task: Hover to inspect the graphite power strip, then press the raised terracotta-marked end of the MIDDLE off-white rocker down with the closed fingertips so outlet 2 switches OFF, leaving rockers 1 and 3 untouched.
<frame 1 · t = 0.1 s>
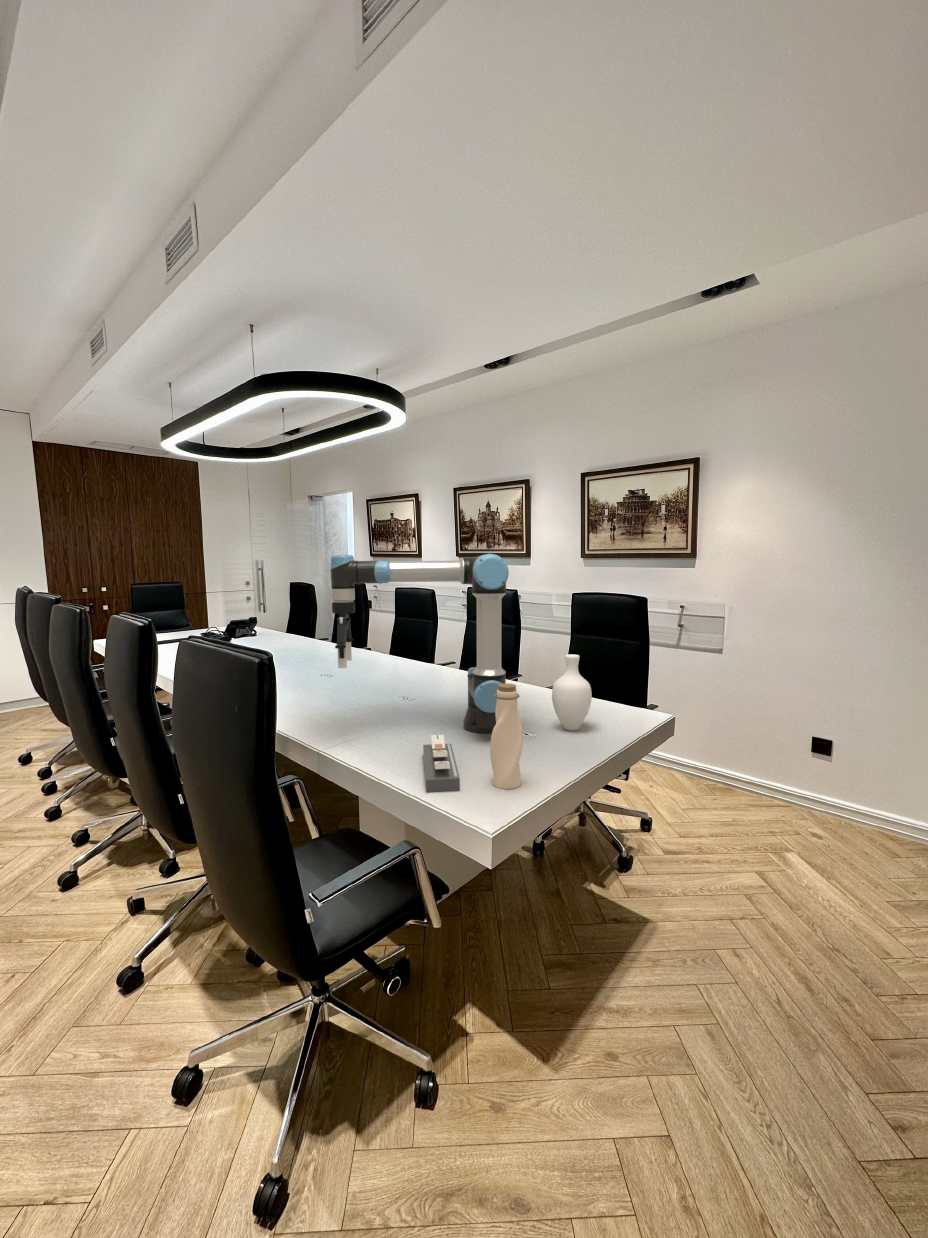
hand: (345, 664, 176), 28 cm above the table, fingers open, 13 cm apart
vase: (571, 730, 194), on the table
power strip: (440, 771, 155), on the table
rocker 2: (439, 753, 155), point 6 cm above the table, hinge at 16.0°
water bottle: (505, 783, 147), on the table
rocker 3: (441, 764, 146), point 6 cm above the table, hinge at 16.0°
rocker 1: (438, 743, 164), point 6 cm above the table, hinge at -16.0°
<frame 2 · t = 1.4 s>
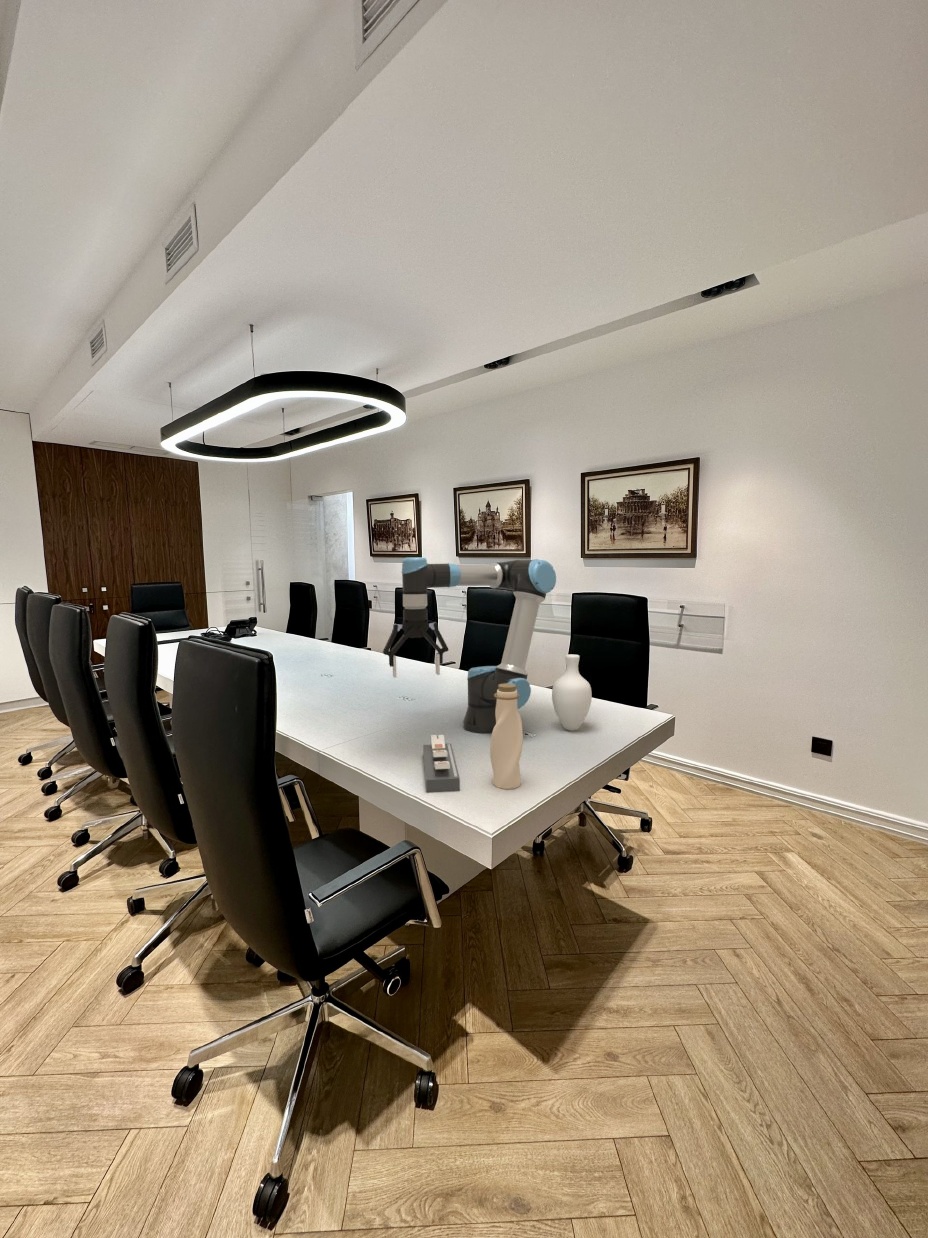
hand: (416, 675, 163), 27 cm above the table, fingers open, 13 cm apart
nothing on the table moved.
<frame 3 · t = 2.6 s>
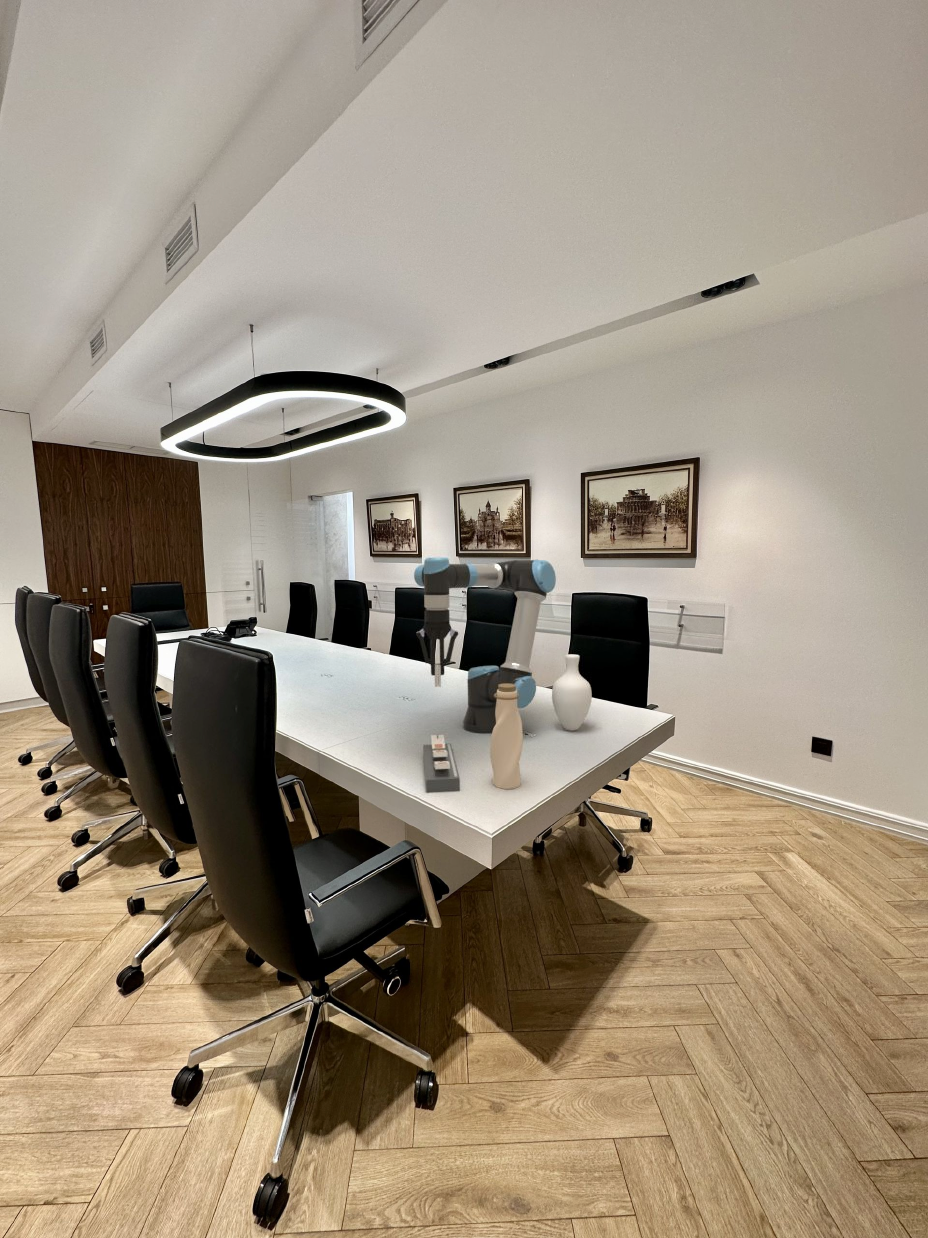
hand: (437, 685, 160), 24 cm above the table, fingers closed
nothing on the table moved.
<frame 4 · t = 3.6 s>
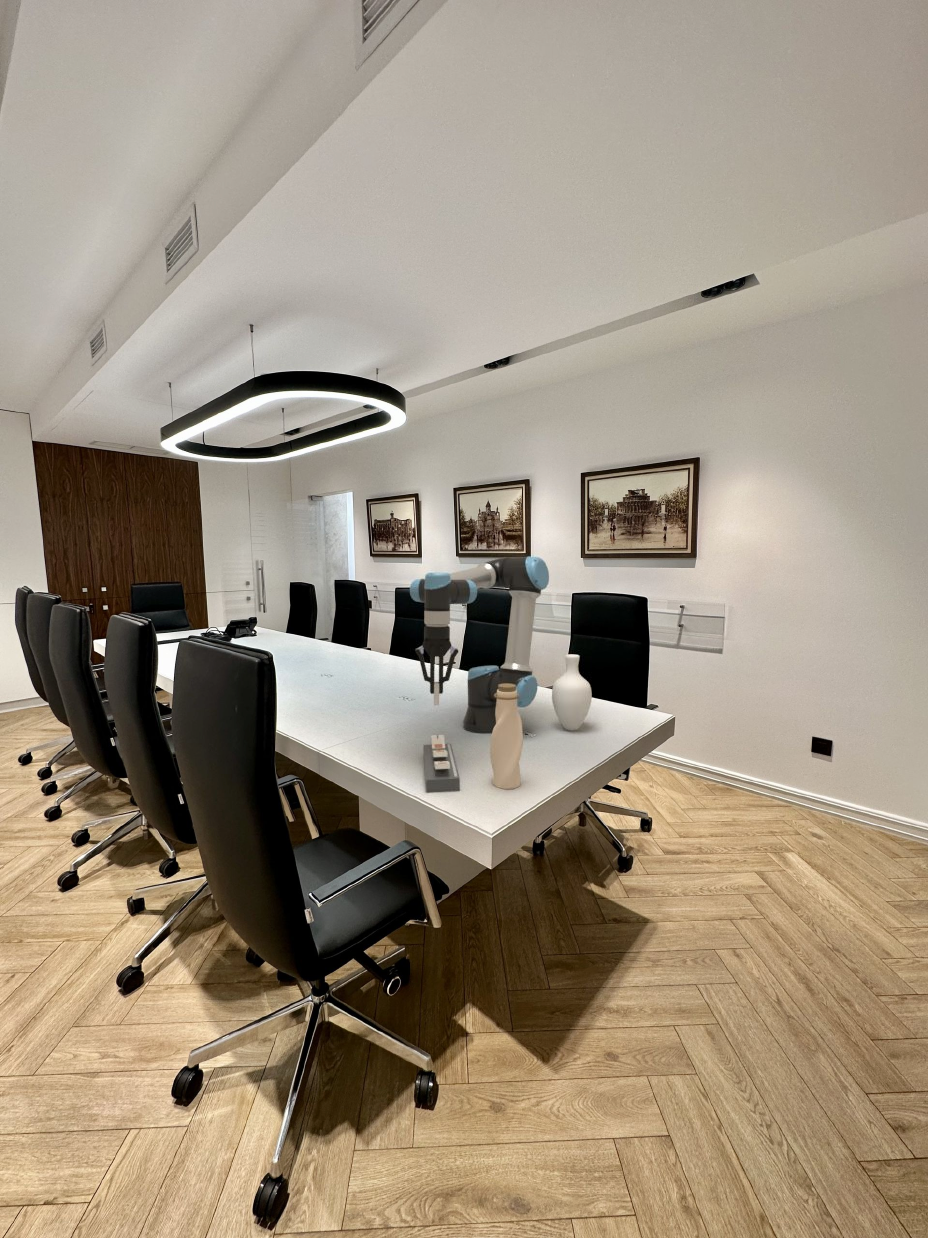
hand: (436, 704, 155), 20 cm above the table, fingers closed
nothing on the table moved.
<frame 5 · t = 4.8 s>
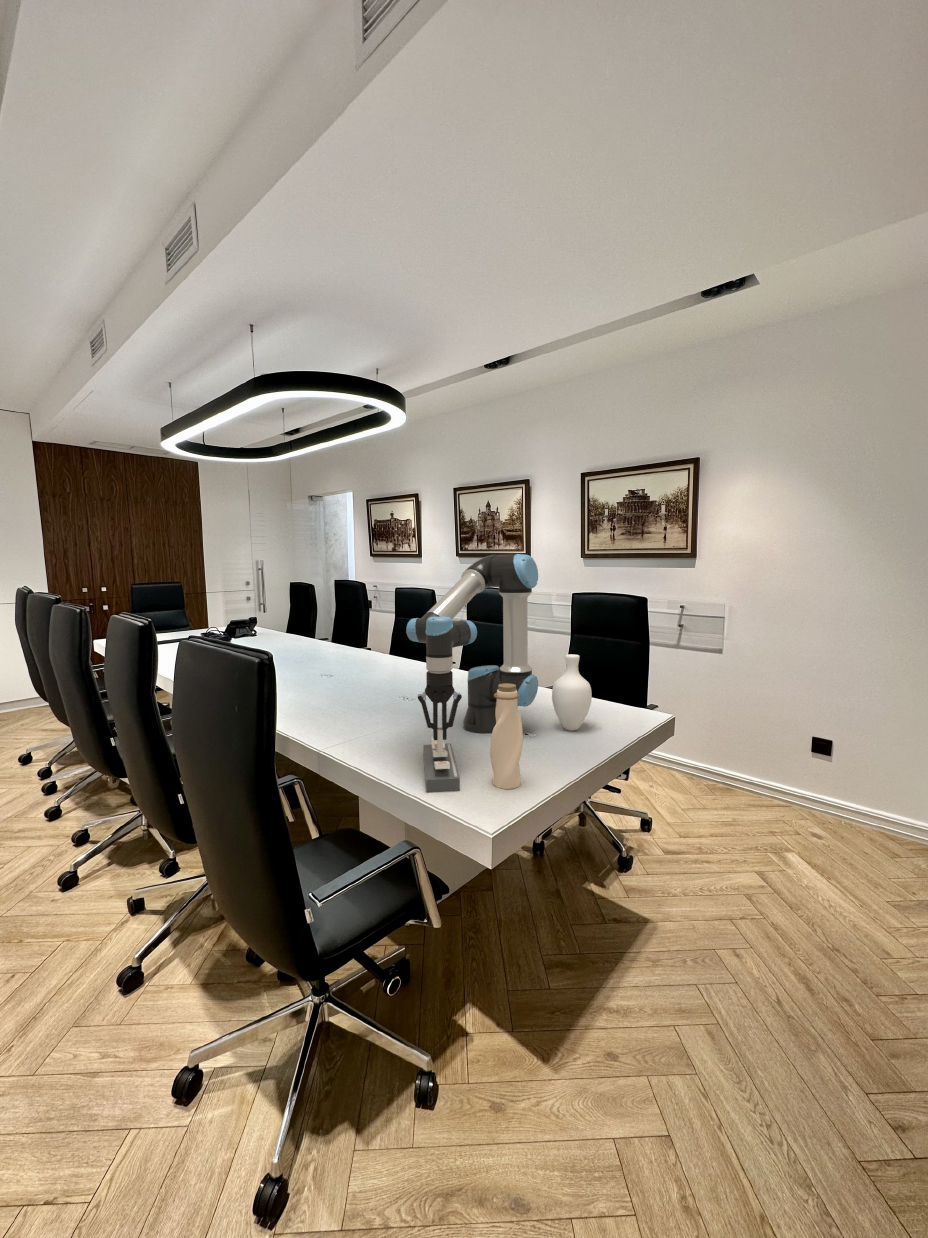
hand: (440, 750, 152), 7 cm above the table, fingers closed
rocker 2: (439, 753, 155), point 6 cm above the table, hinge at 16.0°, touching gripper
everything else where it was.
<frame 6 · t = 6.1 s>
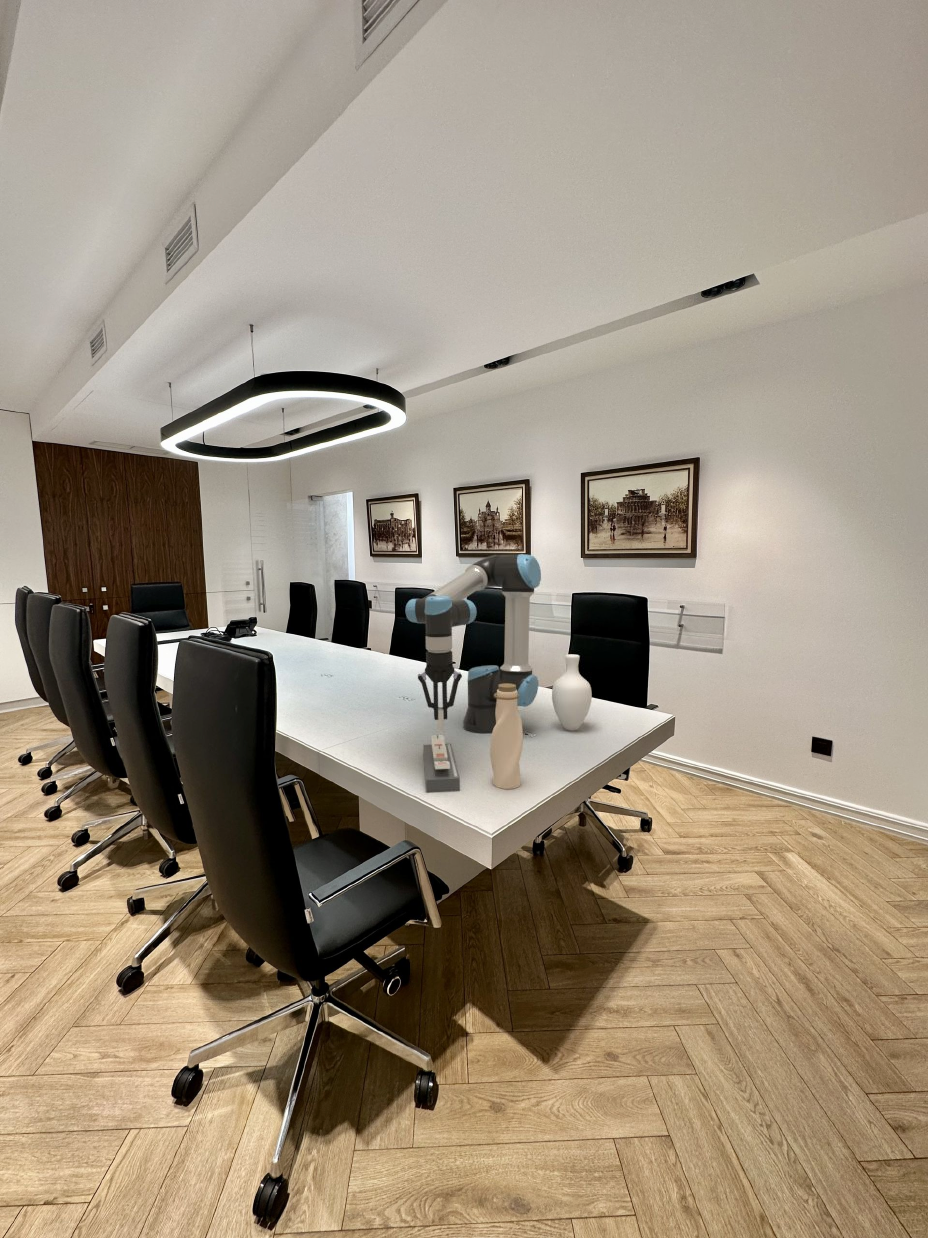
hand: (441, 730, 152), 13 cm above the table, fingers closed
rocker 2: (439, 753, 155), point 6 cm above the table, hinge at -8.2°
everything else where it was.
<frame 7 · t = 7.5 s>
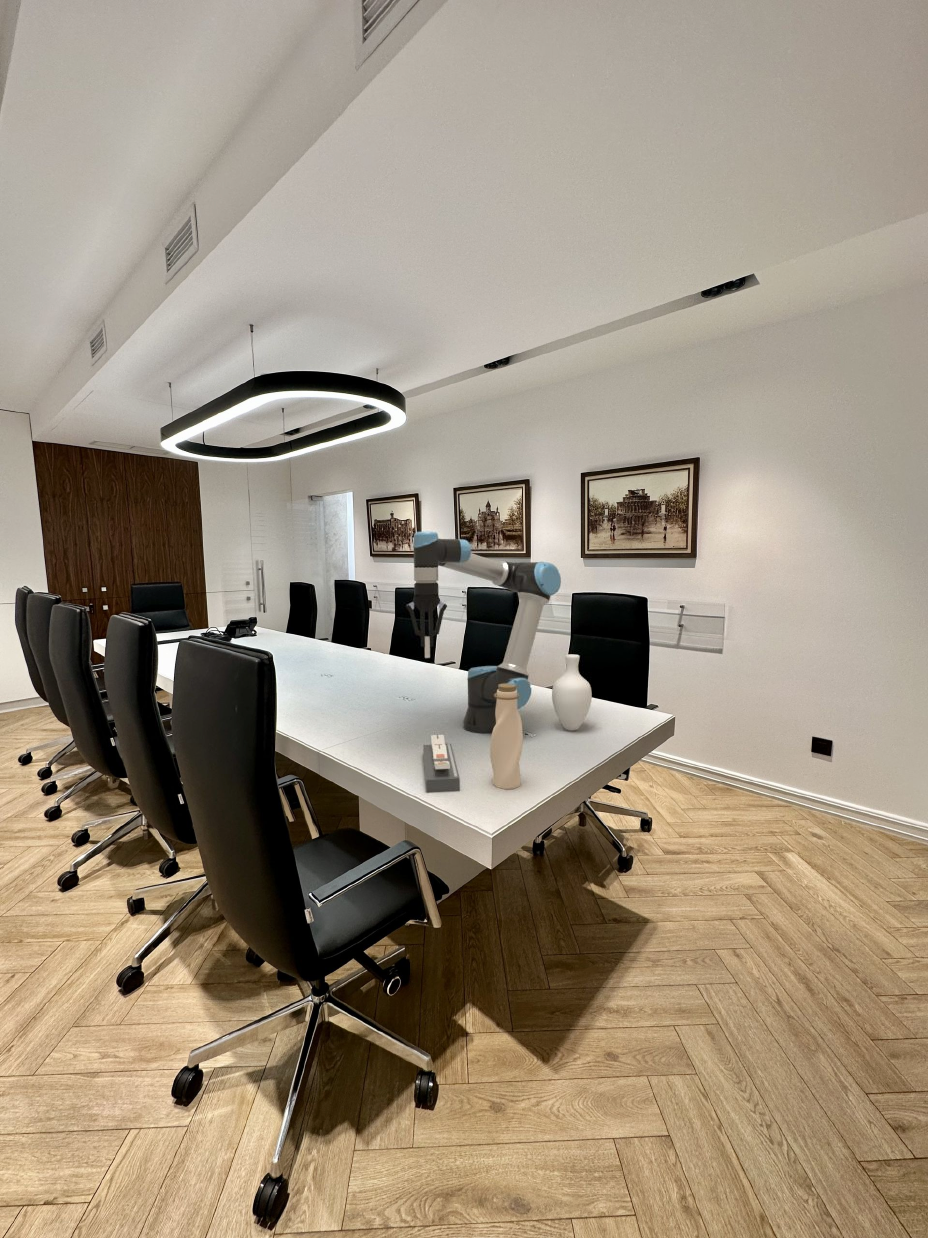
hand: (427, 657, 164), 32 cm above the table, fingers closed
rocker 2: (439, 753, 155), point 6 cm above the table, hinge at -13.3°
everything else where it was.
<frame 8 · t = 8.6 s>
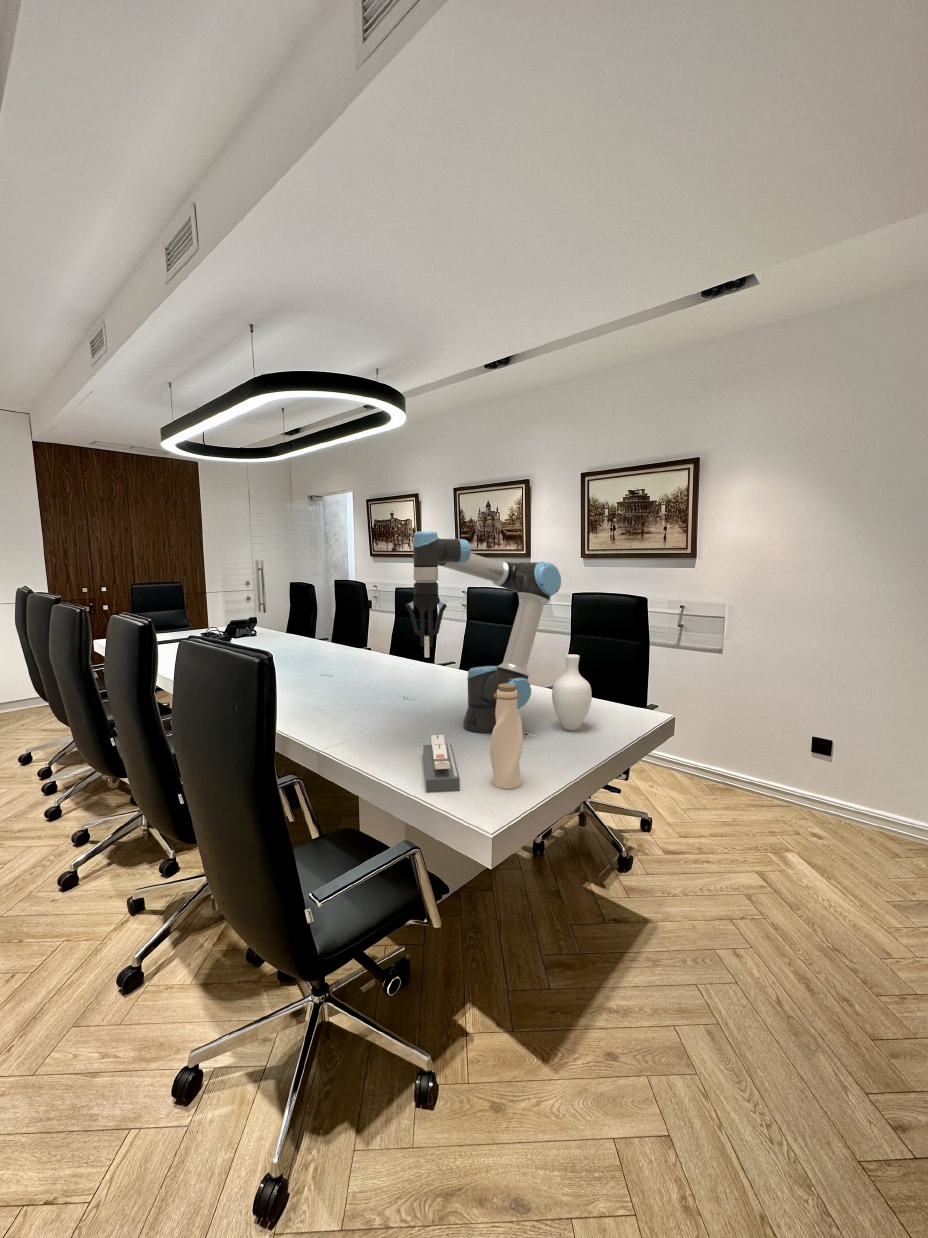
hand: (426, 656, 164), 32 cm above the table, fingers closed
rocker 2: (439, 753, 155), point 6 cm above the table, hinge at -14.6°
everything else where it was.
at the end: rocker 2 at -15° (first picture: +16°); rocker 3 at +16° (first picture: +16°); rocker 1 at -16° (first picture: -16°) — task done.
